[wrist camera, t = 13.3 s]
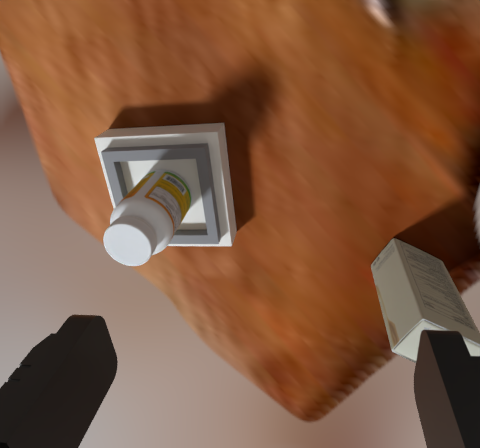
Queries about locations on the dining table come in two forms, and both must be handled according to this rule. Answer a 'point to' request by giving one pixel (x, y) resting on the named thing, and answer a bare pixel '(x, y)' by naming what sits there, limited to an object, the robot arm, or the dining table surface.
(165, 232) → the supplement bottle
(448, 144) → the dining table surface
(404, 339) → the skincare box
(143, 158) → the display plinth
